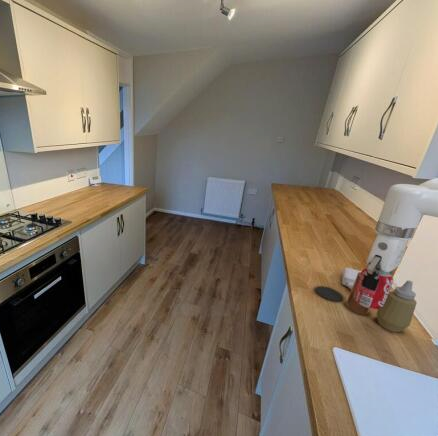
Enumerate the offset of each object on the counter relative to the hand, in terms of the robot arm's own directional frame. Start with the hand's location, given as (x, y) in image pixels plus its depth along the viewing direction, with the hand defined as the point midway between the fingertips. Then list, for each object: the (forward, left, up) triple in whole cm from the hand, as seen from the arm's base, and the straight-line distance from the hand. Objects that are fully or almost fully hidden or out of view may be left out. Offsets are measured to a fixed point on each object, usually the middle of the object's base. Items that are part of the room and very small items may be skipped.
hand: (374, 283), depth 71 cm
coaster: (+14, -15, -19) cm, 28 cm away
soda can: (0, 0, -7) cm, 7 cm away
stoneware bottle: (+5, -15, -19) cm, 25 cm away
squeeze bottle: (-4, -14, -19) cm, 24 cm away
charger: (+11, -30, -19) cm, 37 cm away
